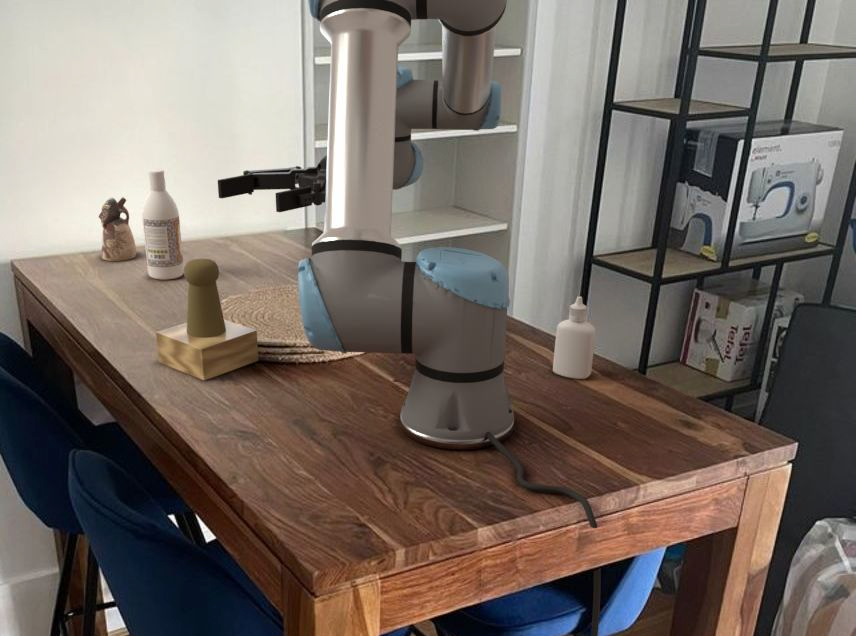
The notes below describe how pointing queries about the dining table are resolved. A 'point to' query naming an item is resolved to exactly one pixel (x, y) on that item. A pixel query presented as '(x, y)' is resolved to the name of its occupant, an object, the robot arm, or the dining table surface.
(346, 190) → the robot arm
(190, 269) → the olive green peg figure
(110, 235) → the figurine
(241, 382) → the dining table surface
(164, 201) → the bath foam
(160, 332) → the riser block
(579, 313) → the eye dropper bottle
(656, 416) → the dining table surface
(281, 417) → the dining table surface
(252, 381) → the dining table surface
